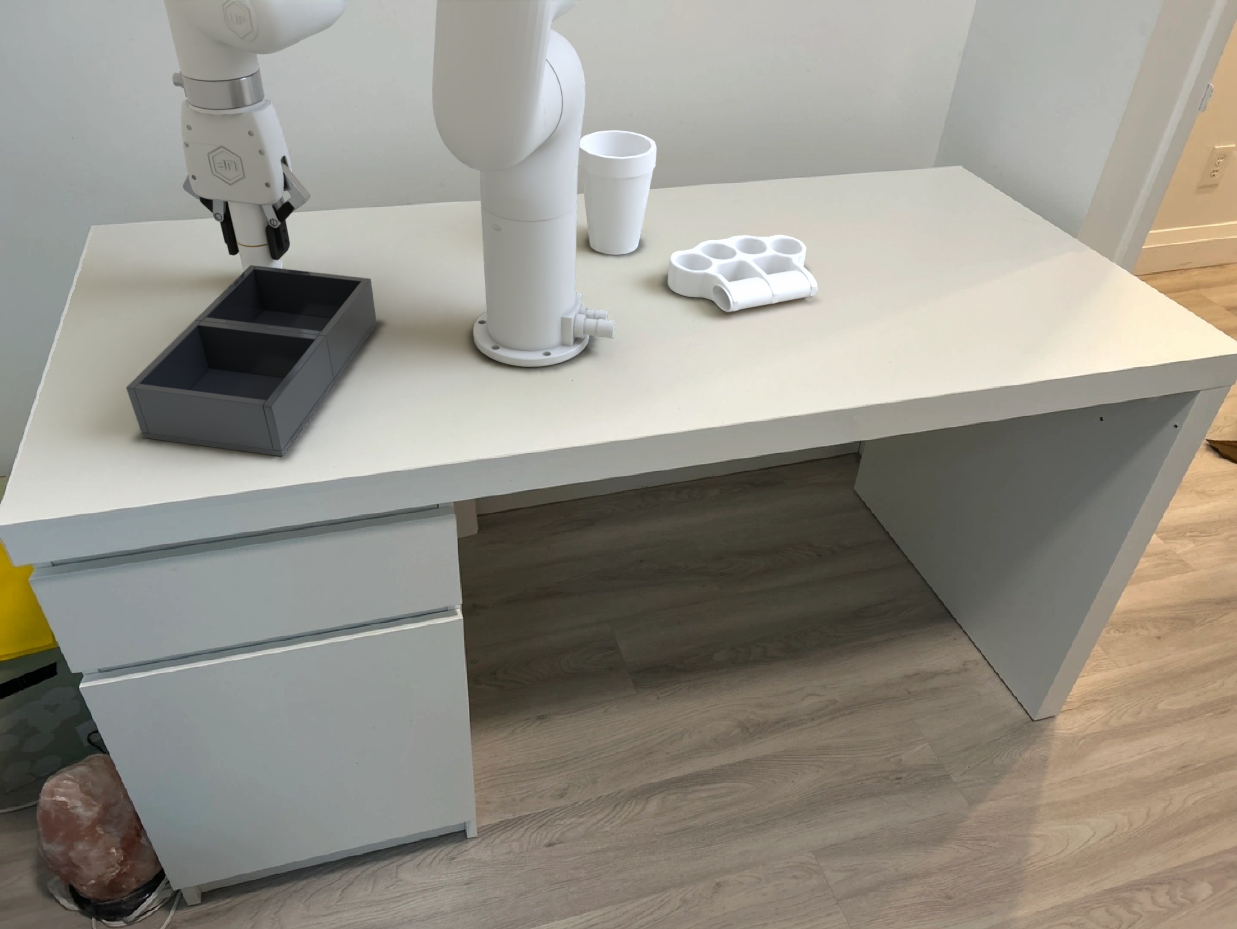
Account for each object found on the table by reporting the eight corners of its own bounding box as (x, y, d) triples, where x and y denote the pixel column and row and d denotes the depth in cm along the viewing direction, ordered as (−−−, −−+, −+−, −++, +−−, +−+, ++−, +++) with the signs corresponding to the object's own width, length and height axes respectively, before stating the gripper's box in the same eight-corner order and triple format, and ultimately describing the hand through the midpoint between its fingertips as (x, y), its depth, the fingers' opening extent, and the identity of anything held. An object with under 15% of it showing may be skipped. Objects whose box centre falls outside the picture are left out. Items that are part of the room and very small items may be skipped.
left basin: (334, 384, 96) (326, 335, 93) (282, 456, 87) (271, 406, 84) (207, 367, 98) (194, 319, 94) (142, 437, 88) (125, 387, 85)
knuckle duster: (704, 324, 108) (649, 268, 119) (838, 298, 114) (774, 247, 125) (707, 298, 106) (651, 243, 117) (843, 273, 112) (778, 222, 123)
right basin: (377, 324, 106) (371, 278, 102) (334, 384, 96) (326, 335, 93) (260, 310, 107) (250, 264, 104) (207, 367, 98) (194, 319, 94)
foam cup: (663, 240, 125) (670, 142, 117) (625, 267, 119) (630, 164, 111) (602, 221, 129) (605, 124, 121) (563, 246, 123) (563, 146, 114)
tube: (274, 293, 110) (247, 166, 101) (239, 289, 111) (210, 161, 101) (291, 277, 113) (267, 152, 104) (257, 272, 114) (231, 147, 105)
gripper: (127, 92, 96) (173, 259, 108) (287, 107, 95) (316, 275, 106) (166, 70, 102) (206, 231, 113) (317, 84, 100) (342, 246, 112)
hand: (259, 250), depth 110 cm, fingers closed on tube, 4 cm apart
